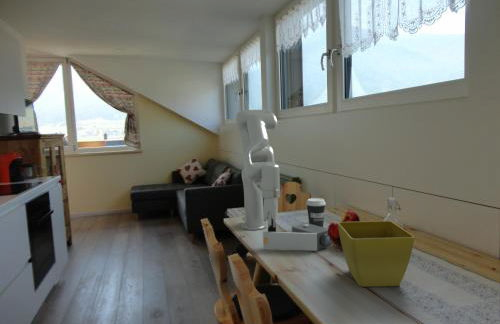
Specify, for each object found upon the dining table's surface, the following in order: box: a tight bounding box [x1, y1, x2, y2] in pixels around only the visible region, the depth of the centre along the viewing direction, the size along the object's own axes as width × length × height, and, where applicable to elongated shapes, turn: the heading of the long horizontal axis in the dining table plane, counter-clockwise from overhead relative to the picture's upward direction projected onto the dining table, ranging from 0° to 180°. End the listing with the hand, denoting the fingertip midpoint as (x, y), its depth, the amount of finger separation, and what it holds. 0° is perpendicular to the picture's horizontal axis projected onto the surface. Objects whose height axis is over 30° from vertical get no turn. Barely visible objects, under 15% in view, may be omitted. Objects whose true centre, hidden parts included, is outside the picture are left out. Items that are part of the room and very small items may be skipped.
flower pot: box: [337, 220, 415, 288], centre depth 110 cm, size 19×19×17 cm
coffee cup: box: [305, 197, 327, 227], centre depth 165 cm, size 10×10×15 cm
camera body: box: [291, 222, 332, 251], centre depth 145 cm, size 16×9×8 cm, turn 38°
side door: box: [262, 231, 318, 252], centre depth 138 cm, size 22×2×7 cm, turn 78°
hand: (272, 235), depth 142 cm, fingers closed
